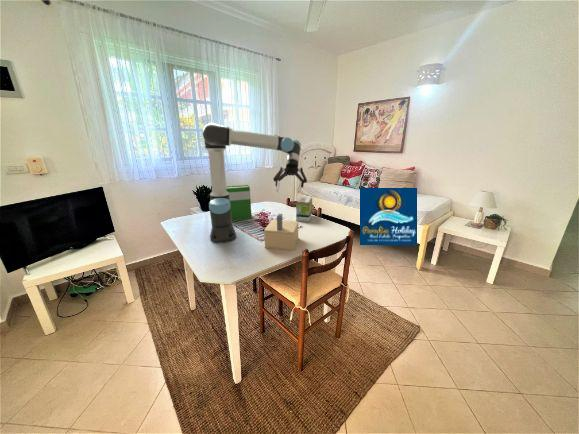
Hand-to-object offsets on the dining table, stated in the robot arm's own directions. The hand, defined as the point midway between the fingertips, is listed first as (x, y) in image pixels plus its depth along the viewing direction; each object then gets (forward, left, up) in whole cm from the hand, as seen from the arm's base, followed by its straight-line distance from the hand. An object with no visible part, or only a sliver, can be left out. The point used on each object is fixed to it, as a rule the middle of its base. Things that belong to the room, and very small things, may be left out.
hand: (288, 191), depth 132 cm
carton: (-7, -11, -27) cm, 30 cm away
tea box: (+18, +25, -28) cm, 42 cm away
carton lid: (-7, -11, -18) cm, 22 cm away
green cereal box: (-29, +38, -28) cm, 55 cm away
